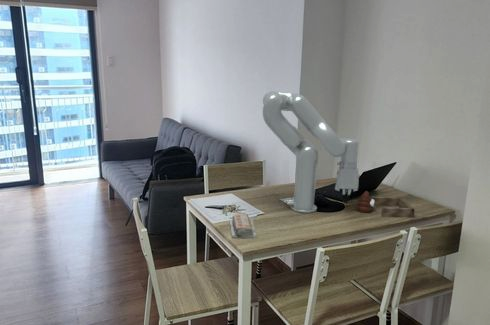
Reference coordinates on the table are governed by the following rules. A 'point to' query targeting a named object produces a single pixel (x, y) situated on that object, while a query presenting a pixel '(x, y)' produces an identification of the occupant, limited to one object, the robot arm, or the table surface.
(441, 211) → the table surface
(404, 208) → the walnut bay
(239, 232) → the packaged product
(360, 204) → the poop emoji
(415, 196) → the table surface
